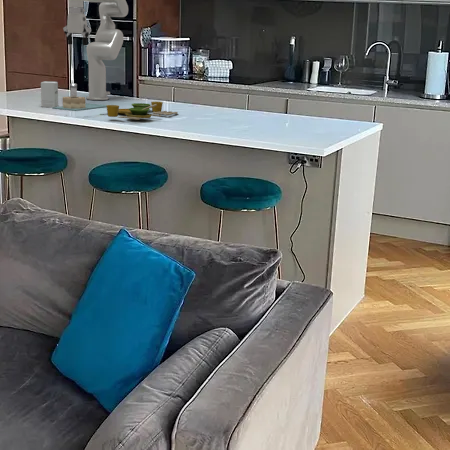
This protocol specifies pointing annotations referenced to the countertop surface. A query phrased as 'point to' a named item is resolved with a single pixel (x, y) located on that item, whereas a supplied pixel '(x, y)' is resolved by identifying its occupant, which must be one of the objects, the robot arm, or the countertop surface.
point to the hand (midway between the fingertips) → (77, 44)
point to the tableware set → (138, 110)
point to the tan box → (74, 102)
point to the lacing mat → (88, 106)
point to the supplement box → (49, 94)
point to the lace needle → (73, 90)
